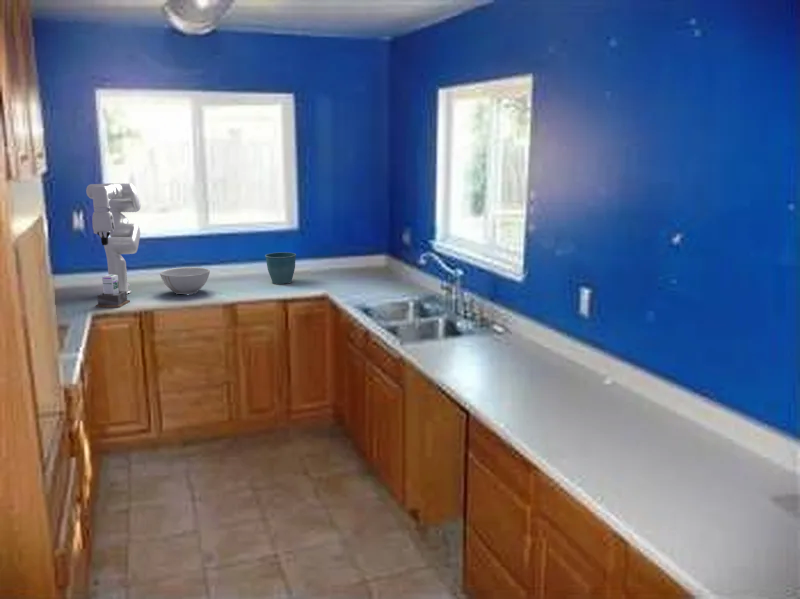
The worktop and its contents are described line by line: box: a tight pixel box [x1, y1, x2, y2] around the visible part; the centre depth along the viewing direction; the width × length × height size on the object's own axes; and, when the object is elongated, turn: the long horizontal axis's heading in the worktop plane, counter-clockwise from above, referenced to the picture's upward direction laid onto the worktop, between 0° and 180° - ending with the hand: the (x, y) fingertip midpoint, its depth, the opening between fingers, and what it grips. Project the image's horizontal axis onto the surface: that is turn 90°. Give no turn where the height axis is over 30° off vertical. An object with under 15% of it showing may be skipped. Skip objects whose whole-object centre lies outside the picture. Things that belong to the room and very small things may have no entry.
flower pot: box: [264, 251, 297, 285], centre depth 432 cm, size 18×18×17 cm
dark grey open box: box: [95, 291, 131, 309], centre depth 377 cm, size 13×13×6 cm
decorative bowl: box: [159, 266, 211, 295], centre depth 404 cm, size 27×27×12 cm
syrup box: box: [101, 274, 120, 295], centre depth 376 cm, size 6×6×14 cm
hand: (105, 244), depth 378 cm, fingers closed
